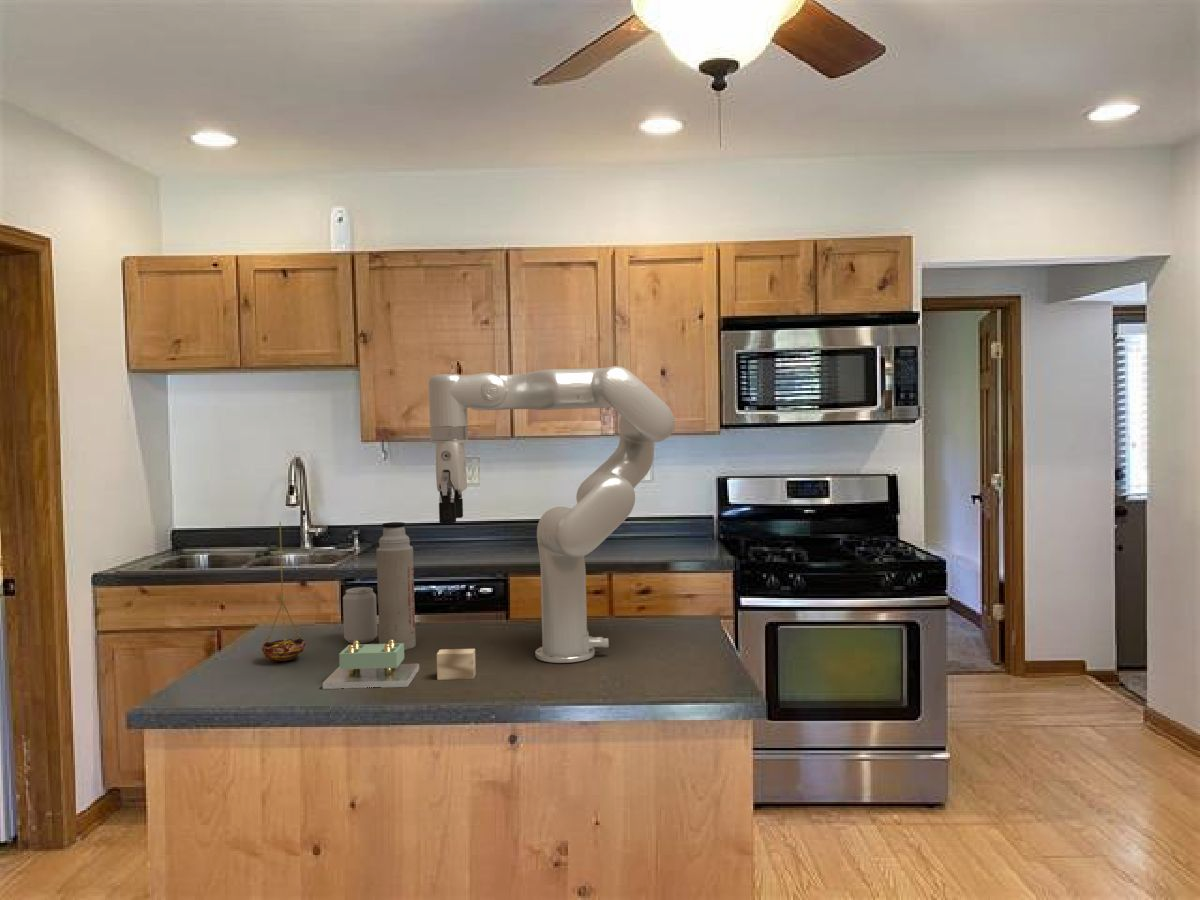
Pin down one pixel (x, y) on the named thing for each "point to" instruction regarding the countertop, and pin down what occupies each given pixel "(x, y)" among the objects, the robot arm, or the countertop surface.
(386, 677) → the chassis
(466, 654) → the block
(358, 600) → the can
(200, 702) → the countertop surface
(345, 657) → the board
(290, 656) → the bird feeder
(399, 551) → the thermos bottle
